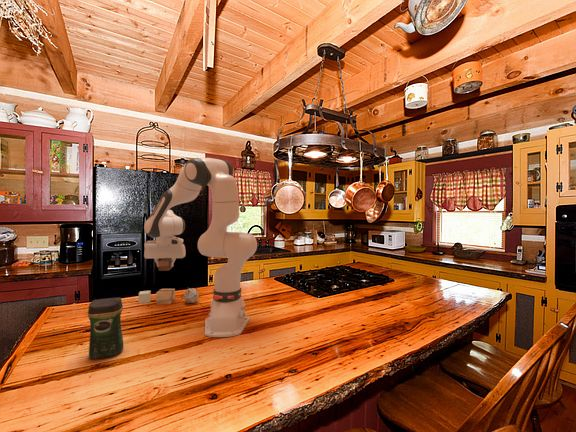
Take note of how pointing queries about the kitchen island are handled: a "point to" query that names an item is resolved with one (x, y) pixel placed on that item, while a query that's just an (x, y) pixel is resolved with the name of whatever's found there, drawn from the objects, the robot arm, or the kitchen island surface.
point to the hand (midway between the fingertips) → (165, 266)
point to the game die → (191, 295)
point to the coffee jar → (105, 328)
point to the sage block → (144, 297)
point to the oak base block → (165, 296)
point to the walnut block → (164, 264)
